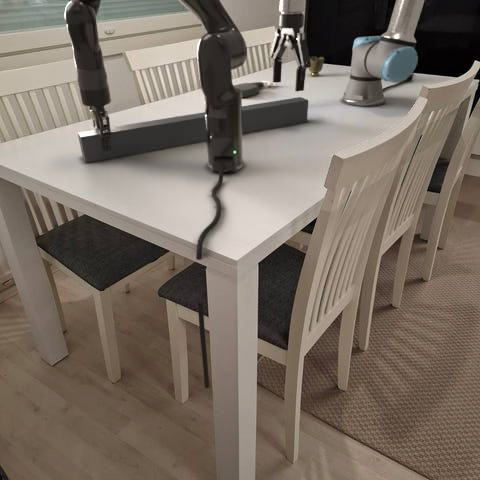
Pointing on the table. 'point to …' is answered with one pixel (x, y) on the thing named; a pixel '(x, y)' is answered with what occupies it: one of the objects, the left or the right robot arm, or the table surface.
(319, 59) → the cup
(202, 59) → the left robot arm
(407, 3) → the right robot arm
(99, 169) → the table surface
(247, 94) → the spray bottle
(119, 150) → the bar
